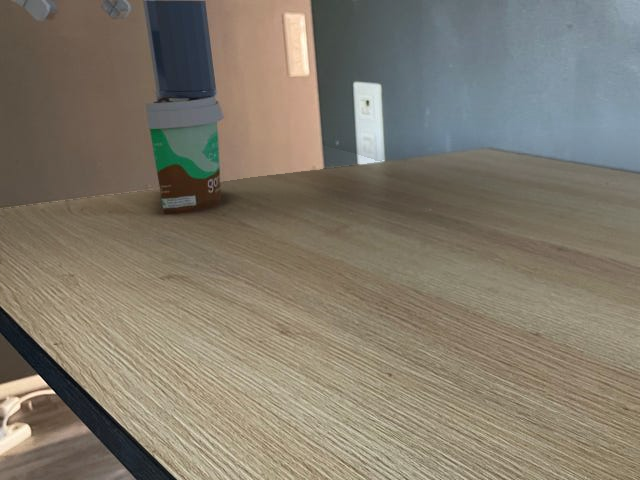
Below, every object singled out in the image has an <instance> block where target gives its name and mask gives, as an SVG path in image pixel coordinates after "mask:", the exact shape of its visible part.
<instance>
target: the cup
mask: <svg viewBox="0 0 640 480" xmlns="http://www.w3.org/2000/svg"><path fill="white" fill-rule="evenodd" d="M142 3H143V10H144V17H145V23H146V29H147V30H146V31H147V37H148V45H149V50H150V57H151V63H152V69H153V76H154V84H155V89H156V90H157V94H158V96H159V97H162V98H203V97H211V96H215V97H216V96H218V91H217V82H216V72H215V64H214V57H213V56H214V55H213V48H212V39H211V31H210V24H209V17H208V15H209V14H208V7H207V1H206V0H142Z"/></svg>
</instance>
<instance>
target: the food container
mask: <svg viewBox="0 0 640 480" xmlns="http://www.w3.org/2000/svg"><path fill="white" fill-rule="evenodd" d="M155 95H156V101H153V102H149V103H145V109H146V117H147V125H148V126H147V127H148V130H149V132H150V133H149V134H150V138H151V139H150V140H151V145H152V152H153V157H154V162H155V163H154V164H155V169H156V175H157V180H158V187H159V192H160V198H161V204H162V211H163V215H165V216H166V215H175V214H185V213H191V212H197V211H202V210H206V209H209V208H212V207H214V206H217V205H219V204H220V203H221V202H222V189H221V188H222V187H221V185H222V184H221V173H220V172H221V169H220V150H219V131H218V122H220V121H223V120H224V118H225V116H224V113H223V110H222V107H221V104H220V102H219V101H218V100H217V99H216V95H215V96H211V97H203V98H162V97H159V96H158V94H157V89H156V90H155Z"/></svg>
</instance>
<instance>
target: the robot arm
mask: <svg viewBox="0 0 640 480" xmlns="http://www.w3.org/2000/svg"><path fill="white" fill-rule="evenodd" d="M10 1H11V2H12V3H13V2H14V3H15V4H16V5H18V6H20V7H22V8H24V9H25V10H26V11H27V12H28V14H29V15H30V16H31V17H33V19H34V20H35V21H37V22H44V21H53V20H54V19H55V17H56V15H57V14H58V12H59V8H60V7H59V5H58V4H57V2H56V1H55V0H10ZM102 1H103V3H102V5H101V8H102V10H103V11H104V12H105V13H106V14H108V16H109V17H110V18H111V19H112V20H125V19H127V18H128V17H129V14H130V13H131V11H132V5H131V3H130V2H129V1H128V0H102Z"/></svg>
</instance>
